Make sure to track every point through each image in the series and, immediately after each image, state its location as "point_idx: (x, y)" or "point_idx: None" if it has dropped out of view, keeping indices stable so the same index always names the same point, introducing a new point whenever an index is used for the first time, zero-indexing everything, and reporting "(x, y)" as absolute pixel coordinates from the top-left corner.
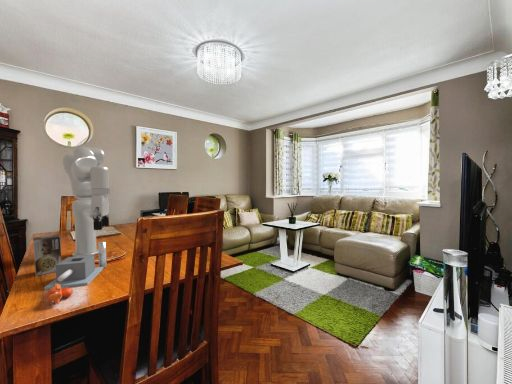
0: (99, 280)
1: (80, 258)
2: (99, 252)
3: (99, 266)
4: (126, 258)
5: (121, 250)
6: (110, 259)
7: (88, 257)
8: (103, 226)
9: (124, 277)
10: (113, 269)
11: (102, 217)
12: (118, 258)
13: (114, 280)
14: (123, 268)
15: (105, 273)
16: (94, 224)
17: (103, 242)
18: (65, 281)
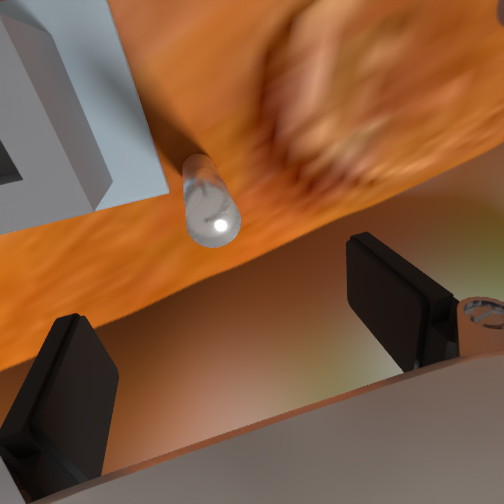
0: (20, 260)
1: (10, 150)
2: (185, 190)
3: (184, 163)
4: (314, 221)
5: (472, 120)
6: (316, 144)
7: (30, 207)
8: (350, 254)
9: None
10: (160, 244)
11: (454, 331)
12: (324, 181)
13: (34, 315)
14: (173, 278)
15: (107, 237)
16: (32, 392)
17: (205, 239)
18: None
